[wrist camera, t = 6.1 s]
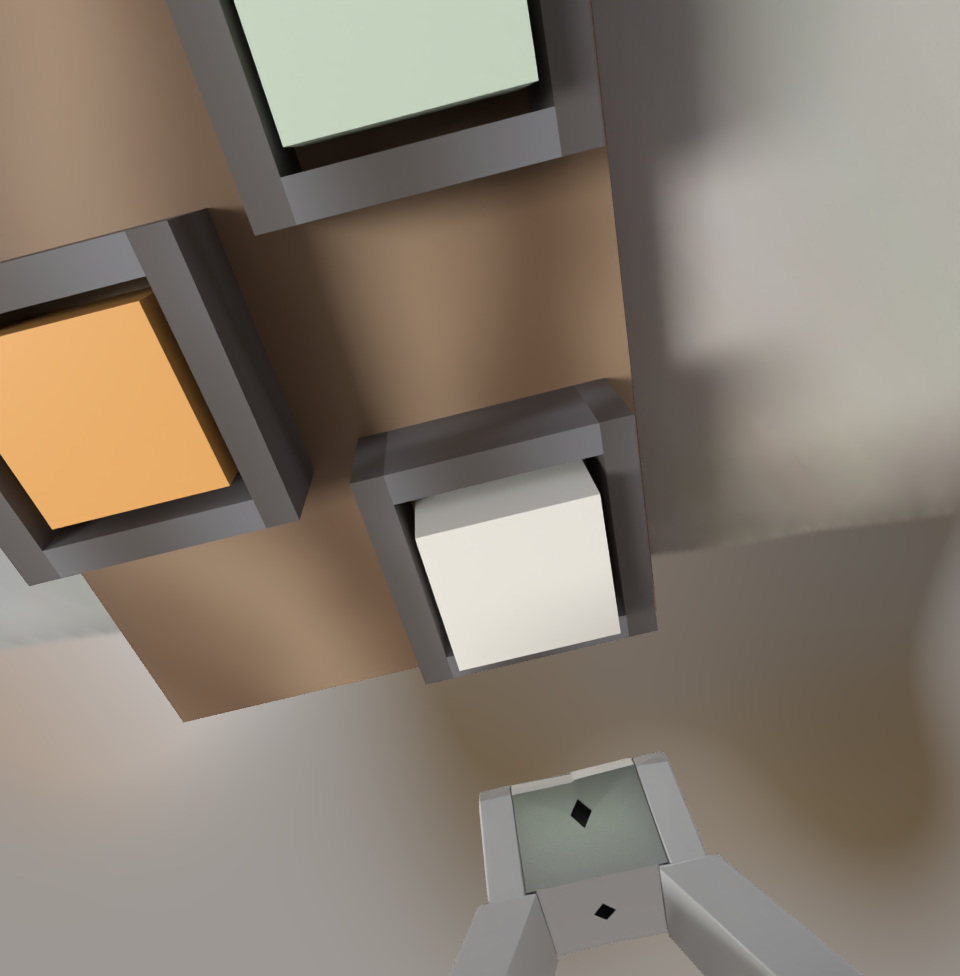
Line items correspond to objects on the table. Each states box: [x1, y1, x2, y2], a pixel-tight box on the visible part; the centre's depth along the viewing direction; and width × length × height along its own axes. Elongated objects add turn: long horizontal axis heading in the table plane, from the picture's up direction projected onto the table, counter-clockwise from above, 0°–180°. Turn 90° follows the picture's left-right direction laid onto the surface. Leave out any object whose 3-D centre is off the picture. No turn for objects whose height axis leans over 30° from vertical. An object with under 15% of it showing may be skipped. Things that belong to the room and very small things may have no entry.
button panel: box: [0, 0, 657, 722], centre depth 15 cm, size 16×22×4 cm
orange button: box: [0, 287, 238, 530], centre depth 14 cm, size 4×4×2 cm
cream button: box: [415, 459, 621, 671], centre depth 16 cm, size 4×4×2 cm
